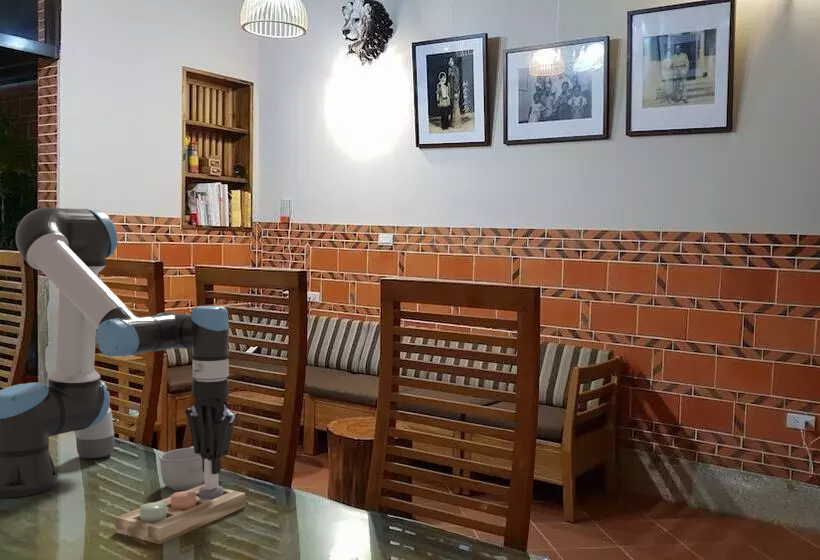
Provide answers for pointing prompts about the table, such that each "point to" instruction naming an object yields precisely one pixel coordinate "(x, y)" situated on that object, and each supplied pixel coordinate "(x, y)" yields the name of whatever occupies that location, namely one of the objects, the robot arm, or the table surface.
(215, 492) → the charcoal button
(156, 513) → the sage button
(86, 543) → the table surface
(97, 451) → the smart speaker
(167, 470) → the teacup
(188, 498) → the terracotta button
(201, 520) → the button panel
